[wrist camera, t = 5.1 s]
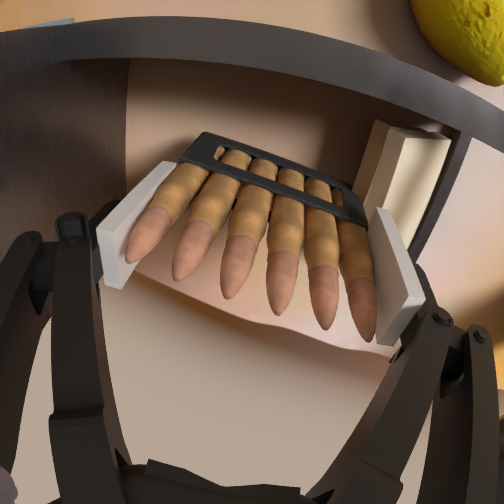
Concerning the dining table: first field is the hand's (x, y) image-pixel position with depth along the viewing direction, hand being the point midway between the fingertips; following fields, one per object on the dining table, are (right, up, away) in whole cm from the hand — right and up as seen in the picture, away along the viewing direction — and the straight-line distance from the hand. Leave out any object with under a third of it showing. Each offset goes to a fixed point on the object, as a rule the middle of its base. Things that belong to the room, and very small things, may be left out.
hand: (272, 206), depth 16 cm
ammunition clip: (+1, +3, +4) cm, 5 cm away
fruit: (+14, +15, -3) cm, 20 cm away
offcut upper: (+9, +1, +4) cm, 9 cm away
